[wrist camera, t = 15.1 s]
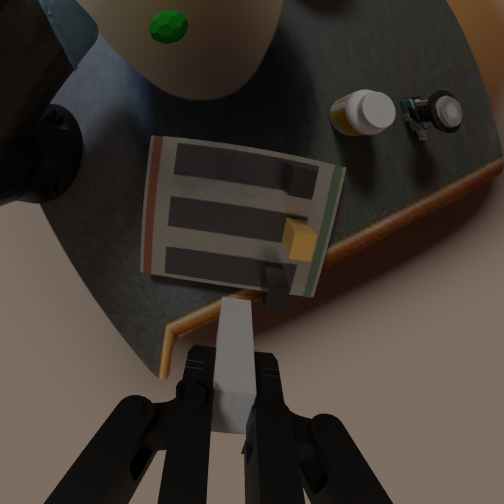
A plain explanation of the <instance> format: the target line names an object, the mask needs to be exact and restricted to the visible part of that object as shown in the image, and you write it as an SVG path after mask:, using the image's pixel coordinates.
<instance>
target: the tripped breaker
mask: <svg viewBox="0 0 504 504" xmlns="http://www.w3.org/2000/svg"><path fill="white" fill-rule="evenodd" d="M316 238H317V234H316V233H315V232H314V231H313V229H312V228H311V227H310V226H309V225H308V223H307V222H306V221H304V220H299V219H293V218H287V217H286V222H285V227H284V231H283V236H282V243H283V245H284V248H285V250H286V253H287V255H288V258H289V259H294V260H301V261H308V262H311V258H312V254H313V250H314V246H315V242H316Z"/></svg>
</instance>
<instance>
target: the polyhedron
mask: <svg viewBox="0 0 504 504" xmlns="http://www.w3.org/2000/svg"><path fill="white" fill-rule="evenodd" d="M187 28H188V23H187V19H186V17H185V15H184V14H182V13H180V12H178V11H175V10H167V11H163V12H159V13H158V14H157V15H155V16H154V17H153V18H152V20H151V23H150V26H149V31H150V34H151V36H152V38H153V39H154V40H156V41H159V42H161V43H165V44H168V43H173V42H176V41H178V40H179V39H181V38H182V37H183V36H184V34H185V33H186V31H187Z"/></svg>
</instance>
